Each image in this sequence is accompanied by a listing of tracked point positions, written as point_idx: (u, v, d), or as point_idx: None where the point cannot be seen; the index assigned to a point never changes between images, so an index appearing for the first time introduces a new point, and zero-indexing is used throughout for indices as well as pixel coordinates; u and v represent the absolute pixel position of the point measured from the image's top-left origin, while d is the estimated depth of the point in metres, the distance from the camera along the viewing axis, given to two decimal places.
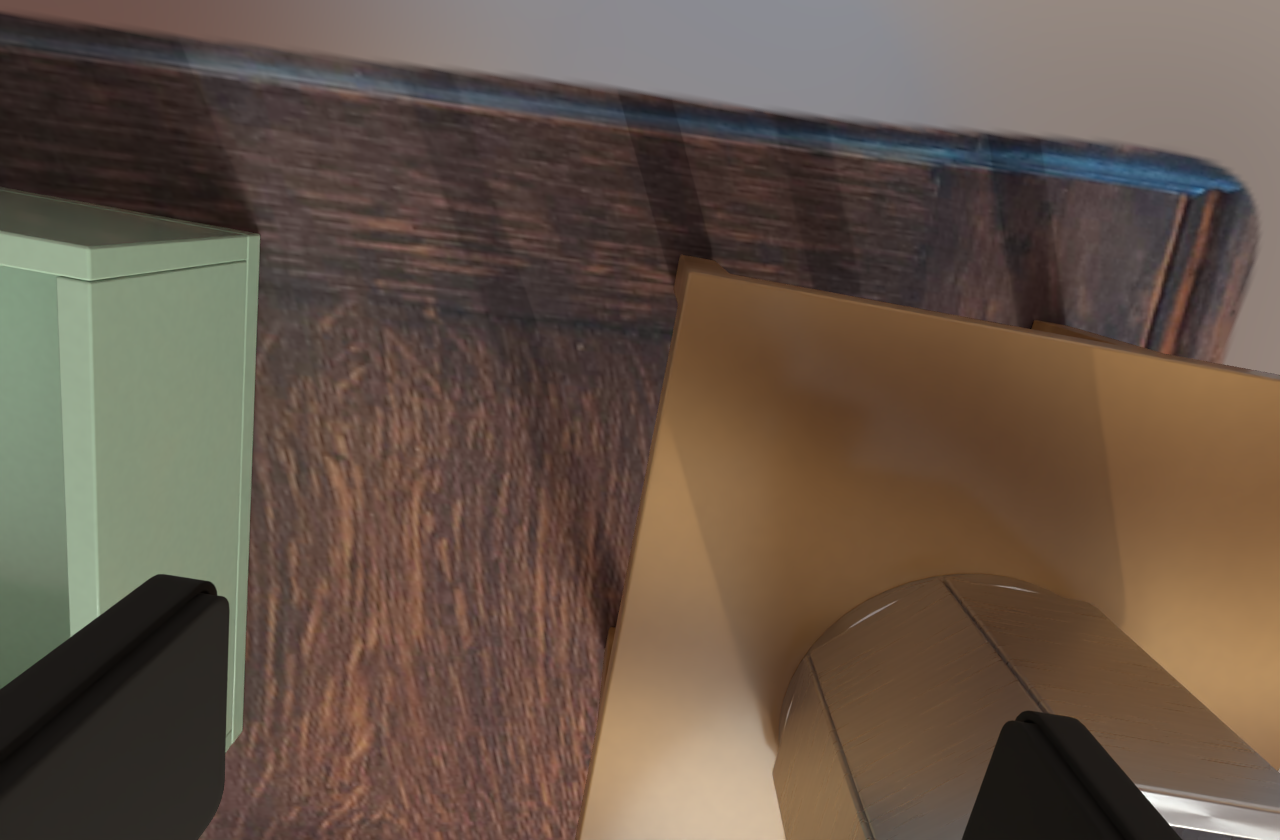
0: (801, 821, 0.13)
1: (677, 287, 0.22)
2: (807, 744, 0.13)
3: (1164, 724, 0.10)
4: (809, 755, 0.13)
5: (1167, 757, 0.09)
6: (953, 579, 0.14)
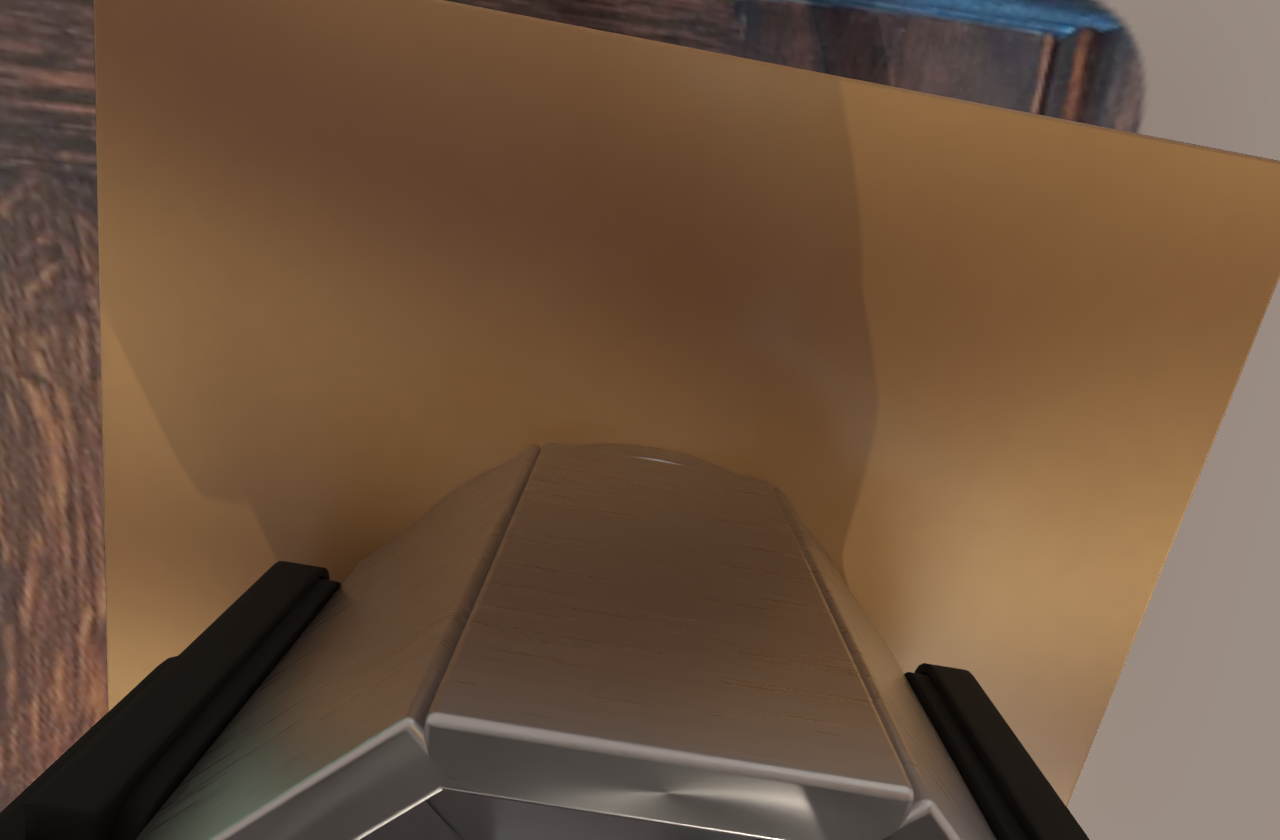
0: None
1: None
2: None
3: (708, 627, 0.06)
4: None
5: (644, 677, 0.05)
6: (555, 444, 0.09)
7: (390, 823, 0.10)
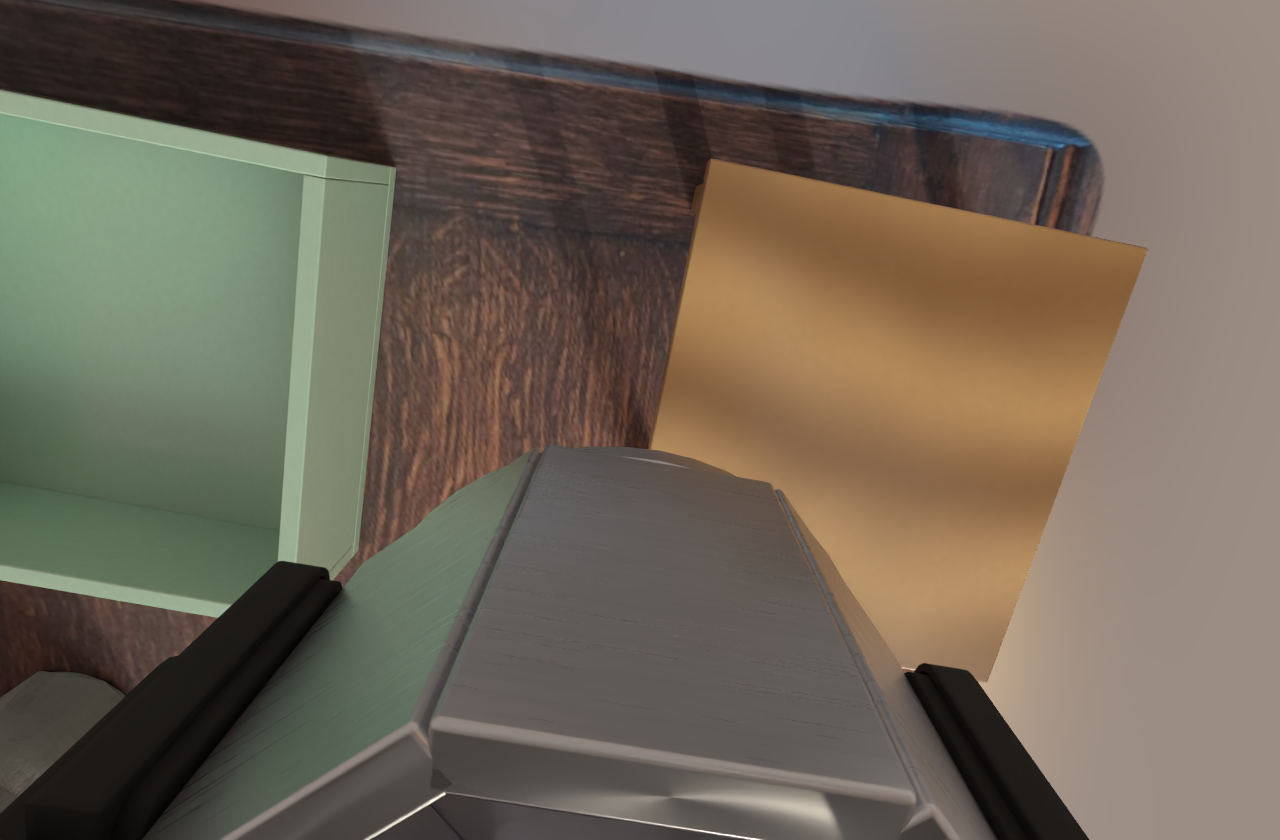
0: None
1: (694, 204, 0.32)
2: None
3: (711, 630, 0.06)
4: None
5: (647, 681, 0.05)
6: (557, 446, 0.09)
7: None
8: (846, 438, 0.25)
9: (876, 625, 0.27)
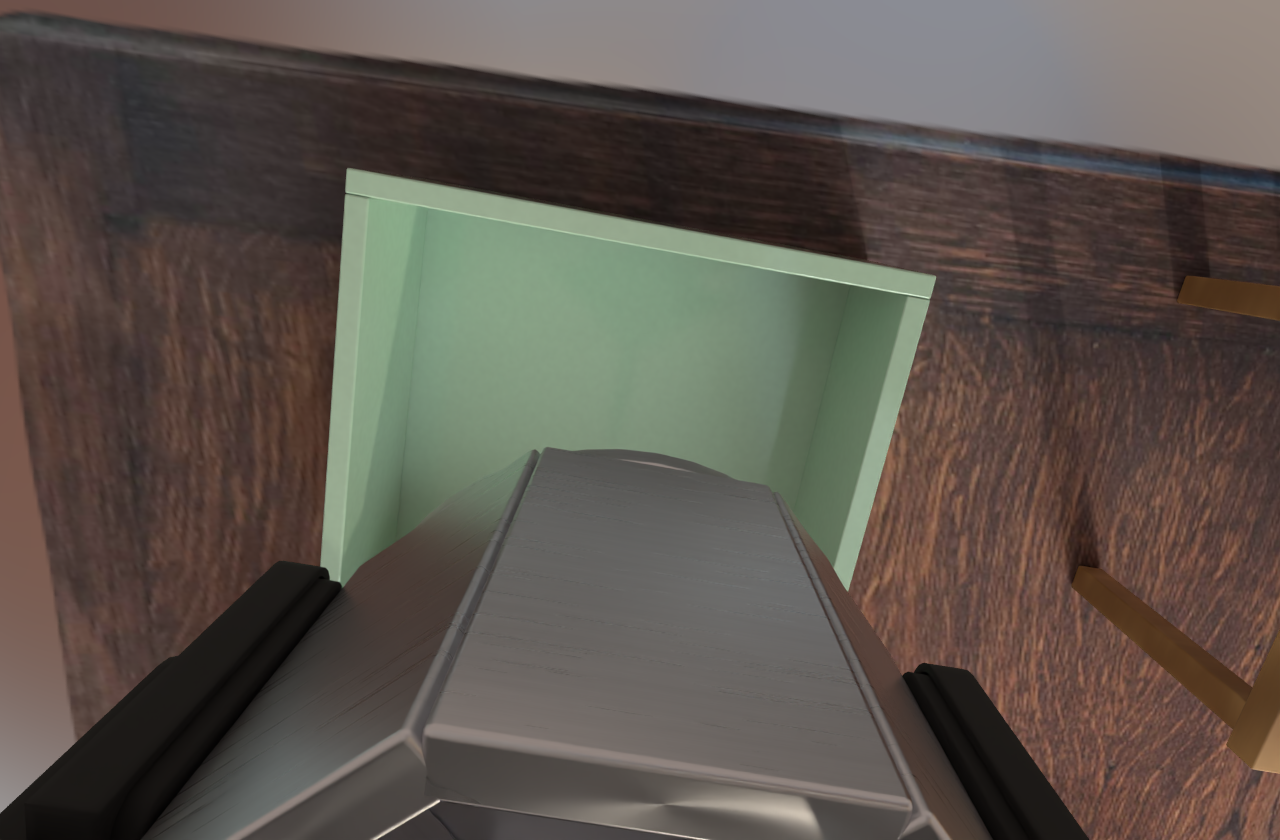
0: None
1: (1217, 300, 0.30)
2: None
3: (707, 635, 0.05)
4: None
5: (643, 687, 0.05)
6: (554, 449, 0.09)
7: None
8: None
9: None
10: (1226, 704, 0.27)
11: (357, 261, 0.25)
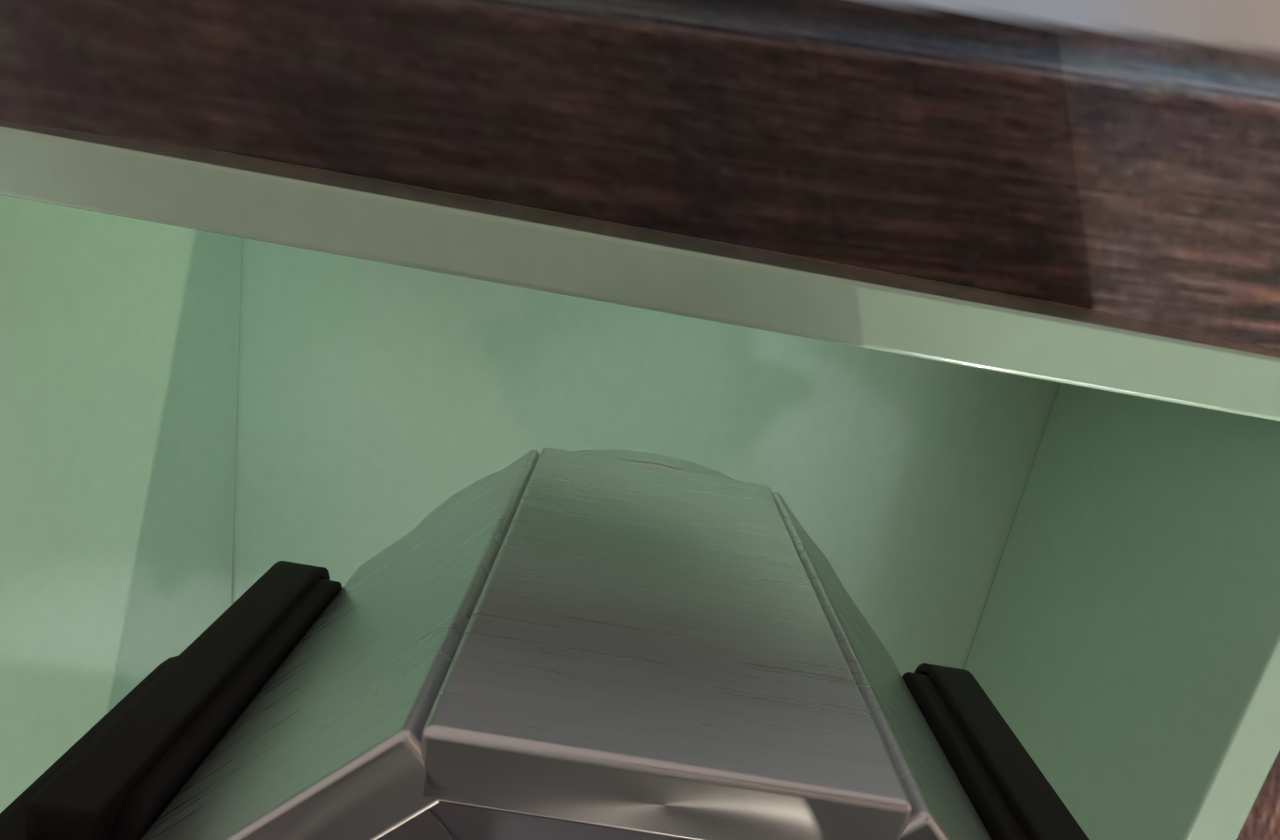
0: None
1: None
2: None
3: (707, 636, 0.05)
4: None
5: (642, 688, 0.05)
6: (554, 450, 0.09)
7: None
8: None
9: None
10: None
11: None
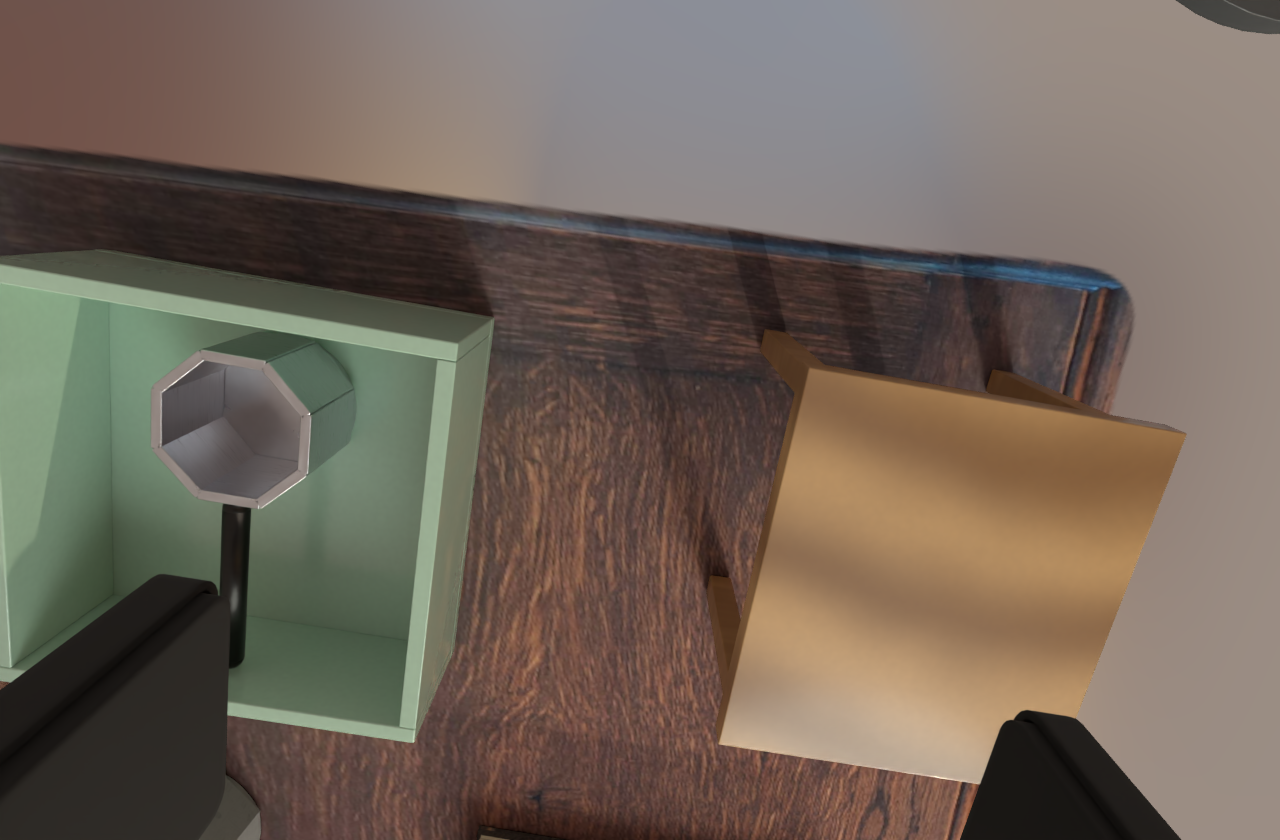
0: None
1: (768, 353, 0.36)
2: None
3: (256, 350, 0.33)
4: None
5: (237, 351, 0.33)
6: None
7: (224, 431, 0.37)
8: (923, 592, 0.29)
9: (948, 747, 0.30)
10: None
11: None
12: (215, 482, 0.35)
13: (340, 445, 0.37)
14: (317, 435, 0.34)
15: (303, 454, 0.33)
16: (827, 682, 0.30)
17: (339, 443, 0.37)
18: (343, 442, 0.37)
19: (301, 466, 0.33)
